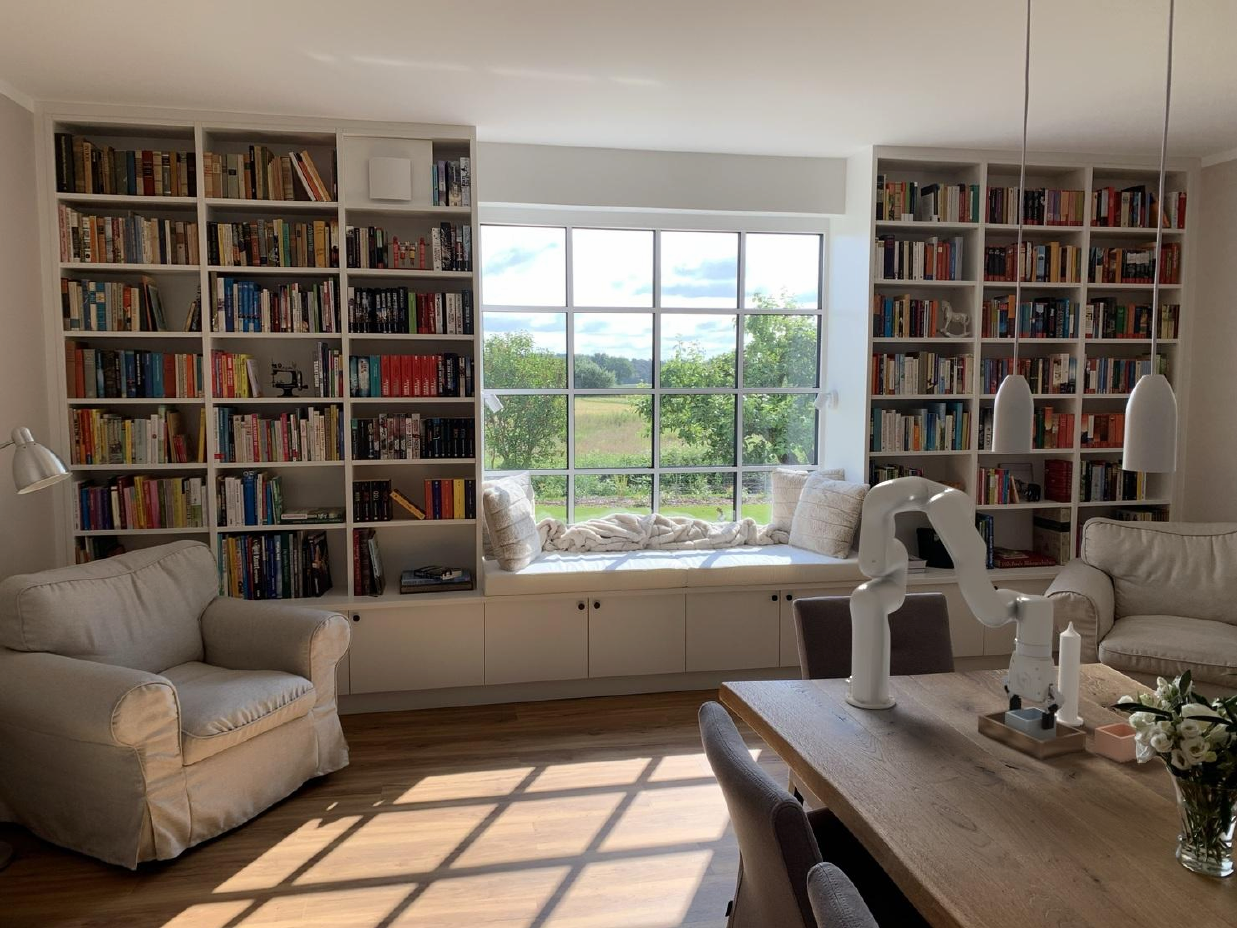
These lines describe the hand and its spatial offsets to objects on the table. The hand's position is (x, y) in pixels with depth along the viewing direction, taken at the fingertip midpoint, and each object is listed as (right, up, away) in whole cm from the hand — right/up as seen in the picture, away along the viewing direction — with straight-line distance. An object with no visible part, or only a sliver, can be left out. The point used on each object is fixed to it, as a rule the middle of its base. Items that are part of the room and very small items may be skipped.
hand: (1031, 721), depth 208 cm
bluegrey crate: (0, -4, 0) cm, 4 cm away
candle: (+14, -4, +12) cm, 19 cm away
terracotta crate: (+17, -5, -8) cm, 19 cm away
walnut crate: (0, -4, 0) cm, 4 cm away
